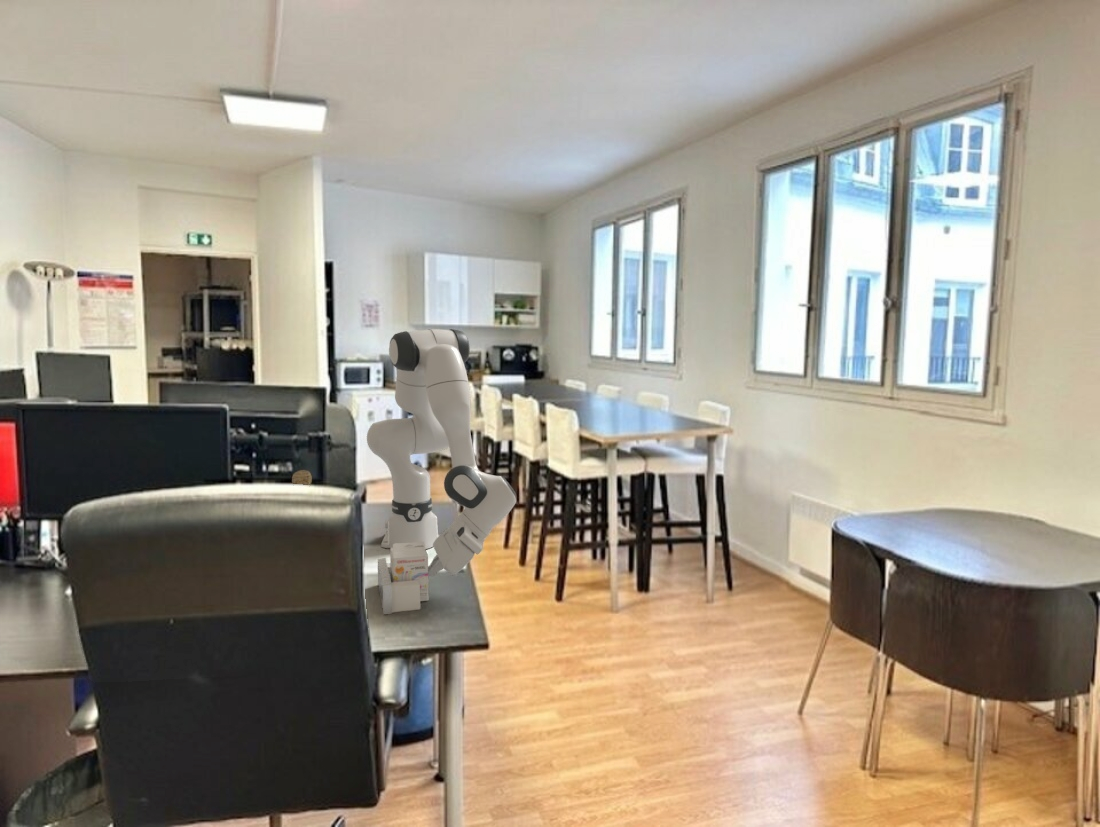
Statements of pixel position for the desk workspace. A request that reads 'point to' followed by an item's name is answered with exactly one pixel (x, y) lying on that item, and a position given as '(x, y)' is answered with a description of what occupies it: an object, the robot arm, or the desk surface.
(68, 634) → the desk surface
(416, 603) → the box
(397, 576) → the ink box
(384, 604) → the rail
